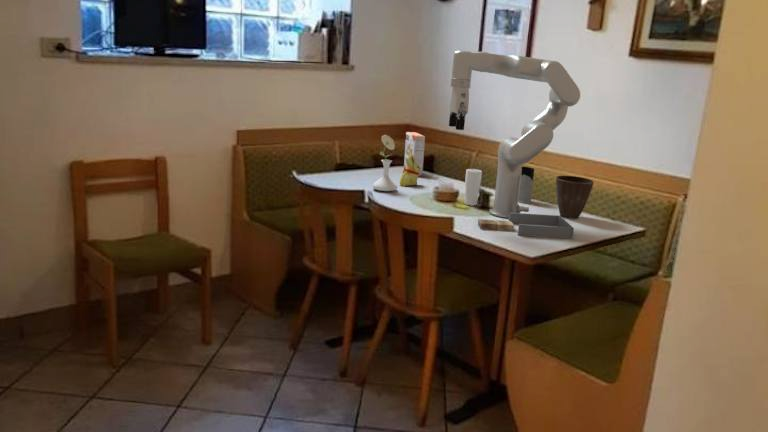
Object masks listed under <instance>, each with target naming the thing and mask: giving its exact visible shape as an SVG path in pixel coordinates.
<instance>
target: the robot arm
mask: <svg viewBox="0 0 768 432" xmlns="http://www.w3.org/2000/svg"><path fill="white" fill-rule="evenodd" d="M451 69H452V70H451V79H450V88H451V94H450V95H451V96H450V103H449V110H450V113H449V120H448V126H449V127H455V130H457V131H464V129H465V121H466V115H467V114H468V113H469V105H470V104H469V101H470V100H469V99H470V89H471V80H472V72H473V71H475V72H480V73H488V74H496V75H500V76H503V77H504V76H505V77H508V78H512V79H513V78H515V79H519V80H527V81H534V82H541V83H546V84H548V86H549V87H550V90H549V94H548V95H549V96H548V97H549V99H548V103H547V106H546V107H545V109H544V110H542V112H540V113H539V114H538V115H536V116H535V117H534V118H532V120H530V121H529V122H528V123H526V124H525V125H524V126H523V127H522V129H521V134H520V136H521V137H520V138H517V137H513V136H509V137H506V138H504V139H503V140H502V141H501V142H500V143H499V146H498V149H497V173H496V181H495V190H494V191H495V192H494V198H493V199H494V201H493V207H492V208H489V211H488V213H489V214H490V215H492V216H494V217H498V218H507V219H509V213H522V212H524V213H529V211H530V207H529V206H527V207H526V206H525V205H524V206H523V205H521V206H520V205H519V203H518V197H519V189H520V180H521V172H522V167H523V166H522V165H525V164H527V163H528V162H531V160H533V159H534V158H535V157H537V156H538V155H539V154H540V153H541V152H543V151H544V150H545V149H547V148H548V147H549V146H550V145H551V143H552V141H553V139H554V130H556V128H558V127H559V126H560V125H561V124H562V123H563V122H564V120H565V118H566V116H567V114H568V108H569V107H573V106H575V105H577V104H578V102H579V101H580V98H581V91H580V88H579V87H578V84H576V82H575V81H574V79H573V78H572V76H570V74H569V72H568V71H567V70H566V68H565V67H564V65H562V63H560V61H556V60H549V59H541V58H535V57H528V56H523V55H521V56H520V55H513V54H511V55H510V54H508V55H506V54H496V53H490V52H487V51H474V52H472V51H470V50H469V51H466V50H456V51H454V52H453V59H452V68H451Z"/></svg>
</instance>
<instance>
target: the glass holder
mask: <svg viewBox="0 0 768 432" xmlns="http://www.w3.org/2000/svg"><path fill="white" fill-rule="evenodd" d="M534 174H535V168H533V167H528V166H522V172H521V180H520V189H519V197H518V202H519V203H518V204H531V203H532V202H533V201H532V194H533V188H534V187H533V186H534Z"/></svg>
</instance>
